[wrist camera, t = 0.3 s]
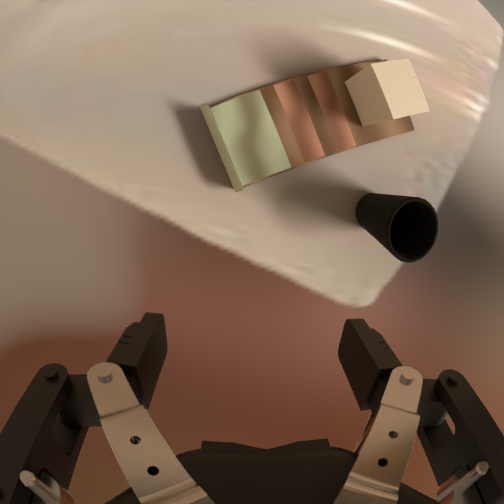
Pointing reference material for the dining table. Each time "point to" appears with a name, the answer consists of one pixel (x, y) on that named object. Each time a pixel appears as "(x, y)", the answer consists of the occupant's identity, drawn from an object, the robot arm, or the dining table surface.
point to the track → (292, 125)
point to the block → (386, 92)
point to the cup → (399, 224)
